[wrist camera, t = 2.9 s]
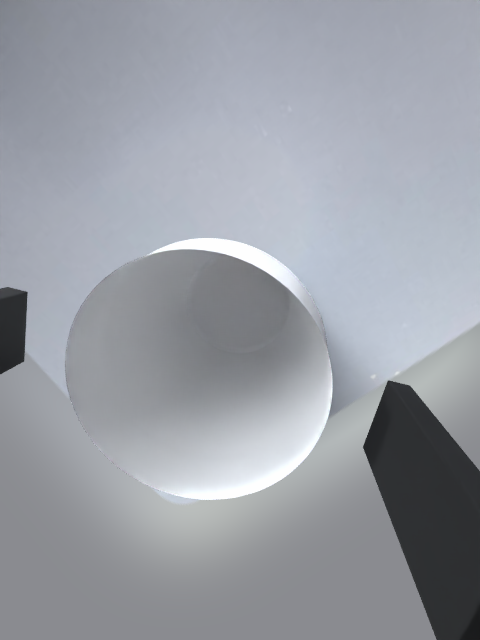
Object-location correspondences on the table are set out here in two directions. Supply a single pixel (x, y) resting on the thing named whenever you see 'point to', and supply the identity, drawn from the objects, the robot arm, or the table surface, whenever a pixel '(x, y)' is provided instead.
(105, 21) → the table surface
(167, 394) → the cup
